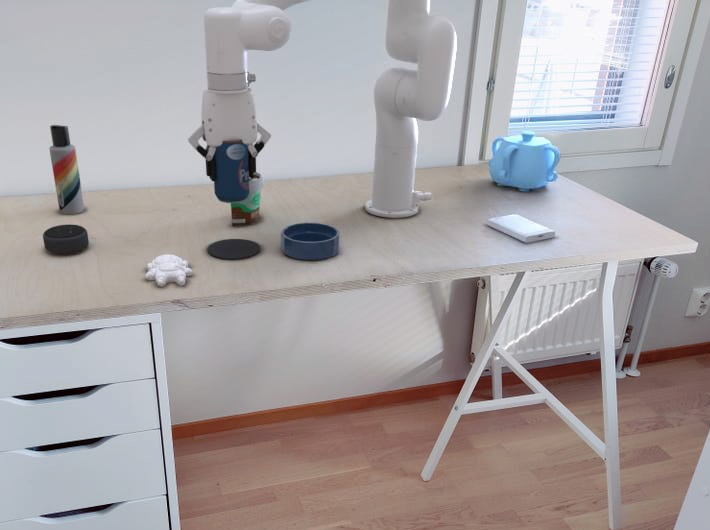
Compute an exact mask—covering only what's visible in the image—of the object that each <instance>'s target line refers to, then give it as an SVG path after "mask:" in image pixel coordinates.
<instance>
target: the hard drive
mask: <svg viewBox="0 0 710 530" xmlns="http://www.w3.org/2000/svg"><path fill="white" fill-rule="evenodd" d="M486 226H488V227H491V228H493V229H494V230H497V231H499V232H501V233H504V234H506V235H508V236H511V237H513V238H514V239H517V240H518V241H521V242H523V243H525V244H528V243H534V242H539V241H543V240H549V239H553V238H555V236H556V231H555V230H552V229H550V228H548V227H546V226H543V225H542V224H539V223H536V222H534V221H531V220H530V219H527V218H526V217H522V216H521V215H519V214H516V213H513V214H508V215H503V216H499V217H498V216H497V217H492V218H489V219H487V224H486Z"/></svg>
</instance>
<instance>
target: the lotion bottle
mask: <svg viewBox="0 0 710 530" xmlns="http://www.w3.org/2000/svg"><path fill="white" fill-rule="evenodd" d="M49 129H50V135H51V143H52V145H51V146H50V147H49V155H50V161H51V168H52V173H53V179H54V185H55V192H56V197H57V203H58V210H59V212H60V213H61V214H63V215H76V214H80V213H83V212H84V210H85V206H84V205H85V204H84V197H83V191H82V185H81V177H80V171H79V170H80V169H79V164H78V163H79V162H78V157H77V150H76V145H74V144H71V139H70V132H69V126H68V125H60V124H52V125H50V126H49Z"/></svg>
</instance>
